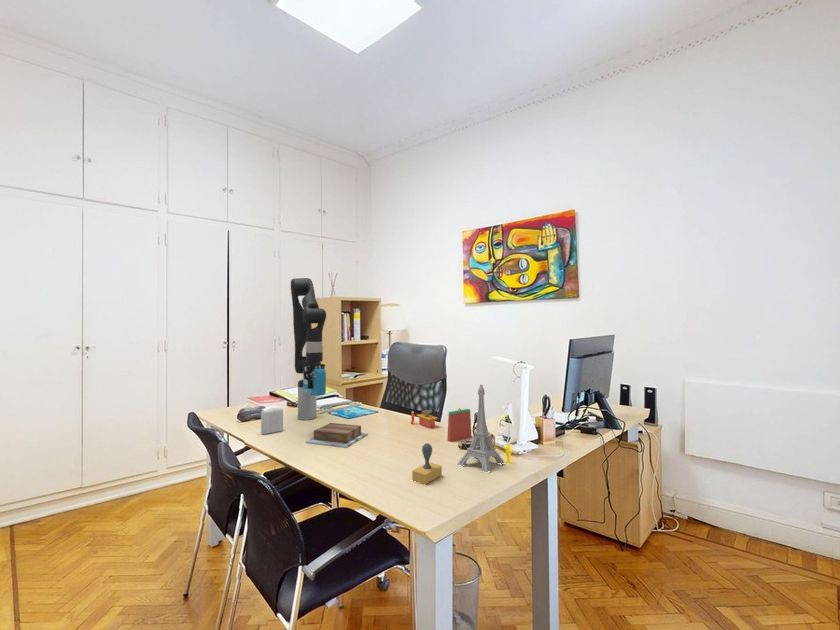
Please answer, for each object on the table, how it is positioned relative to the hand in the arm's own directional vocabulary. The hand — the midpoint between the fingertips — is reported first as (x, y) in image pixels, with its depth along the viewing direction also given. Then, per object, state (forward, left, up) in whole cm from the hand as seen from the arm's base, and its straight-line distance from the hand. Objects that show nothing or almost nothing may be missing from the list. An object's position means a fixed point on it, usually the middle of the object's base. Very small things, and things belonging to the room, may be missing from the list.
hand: (314, 387), depth 193 cm
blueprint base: (+1, +13, -22) cm, 26 cm away
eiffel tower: (+11, +80, -23) cm, 84 cm away
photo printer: (+2, -22, -22) cm, 31 cm away
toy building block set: (-27, +52, -23) cm, 62 cm away
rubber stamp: (+30, +65, -22) cm, 75 cm away
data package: (0, 0, -3) cm, 3 cm away
